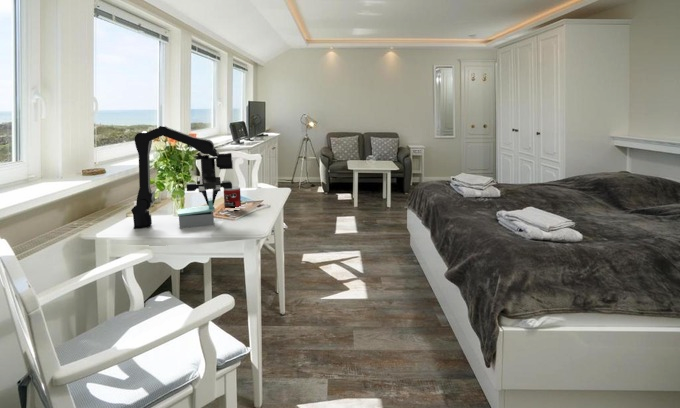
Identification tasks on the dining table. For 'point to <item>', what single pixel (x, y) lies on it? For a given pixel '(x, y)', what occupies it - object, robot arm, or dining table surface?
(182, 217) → the tub
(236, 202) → the canned food
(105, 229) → the dining table surface
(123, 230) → the dining table surface
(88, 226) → the dining table surface
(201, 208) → the lid
